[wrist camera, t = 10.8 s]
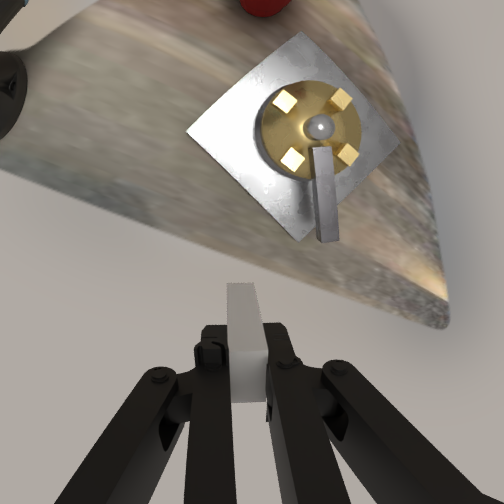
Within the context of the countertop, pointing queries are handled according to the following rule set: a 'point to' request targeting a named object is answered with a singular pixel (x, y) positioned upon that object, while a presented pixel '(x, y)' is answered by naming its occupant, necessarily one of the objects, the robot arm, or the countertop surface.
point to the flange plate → (239, 141)
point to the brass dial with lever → (313, 142)
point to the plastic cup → (263, 6)
